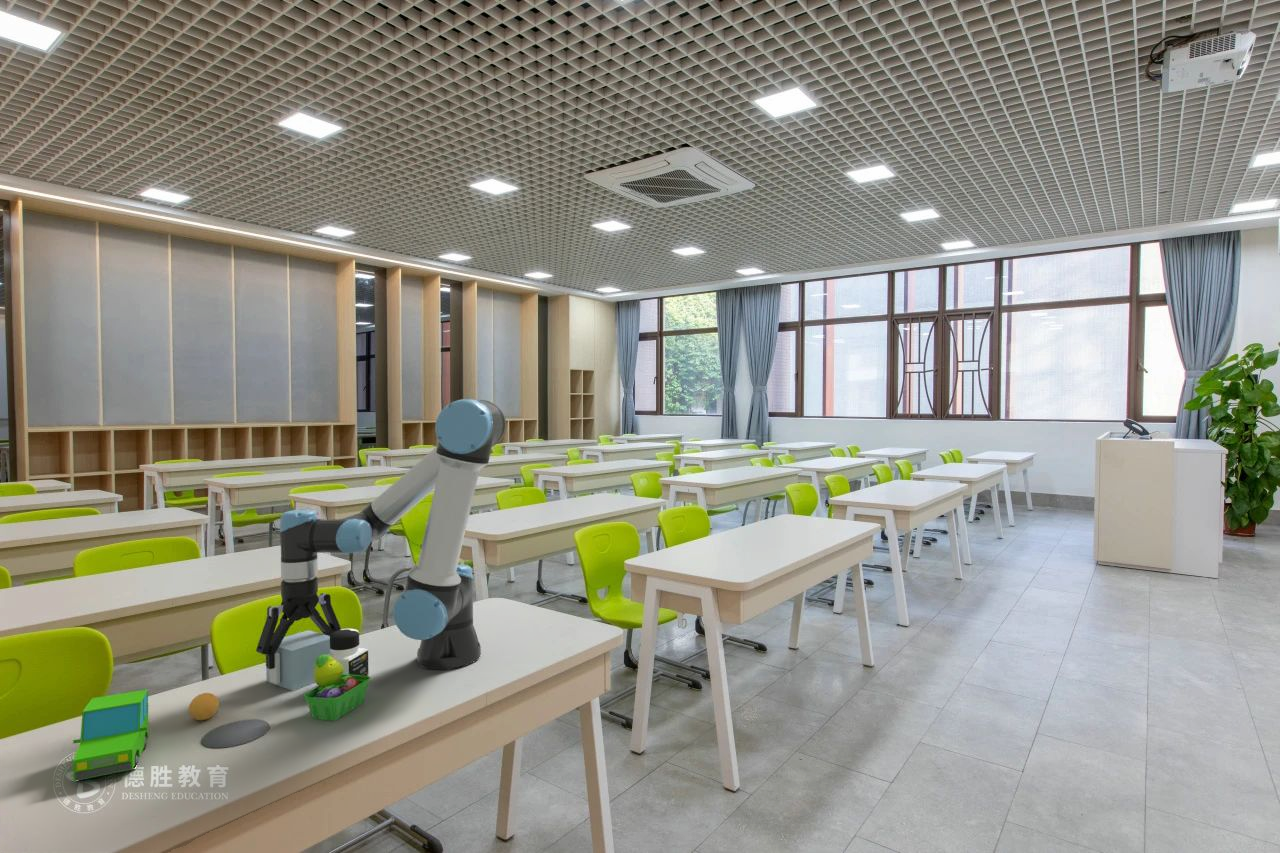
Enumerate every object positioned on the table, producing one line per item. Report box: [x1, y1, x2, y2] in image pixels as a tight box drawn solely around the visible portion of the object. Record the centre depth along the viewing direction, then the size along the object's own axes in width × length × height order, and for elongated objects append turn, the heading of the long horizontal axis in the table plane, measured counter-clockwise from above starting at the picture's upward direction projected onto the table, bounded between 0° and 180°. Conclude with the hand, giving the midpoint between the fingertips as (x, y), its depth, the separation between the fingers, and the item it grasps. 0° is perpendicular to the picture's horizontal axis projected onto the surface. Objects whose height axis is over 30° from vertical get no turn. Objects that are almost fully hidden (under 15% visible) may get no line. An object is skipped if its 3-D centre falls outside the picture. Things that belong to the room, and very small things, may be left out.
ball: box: [188, 692, 220, 721], centre depth 132 cm, size 5×5×5 cm
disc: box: [201, 718, 271, 749], centre depth 126 cm, size 11×11×1 cm
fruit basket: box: [303, 654, 371, 722], centre depth 136 cm, size 11×9×11 cm
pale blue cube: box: [265, 629, 331, 692], centre depth 153 cm, size 10×10×9 cm
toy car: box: [72, 689, 150, 782], centre depth 115 cm, size 10×13×10 cm
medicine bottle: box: [327, 628, 370, 677], centre depth 149 cm, size 7×7×12 cm
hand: (301, 672), depth 153 cm, fingers open, 11 cm apart
